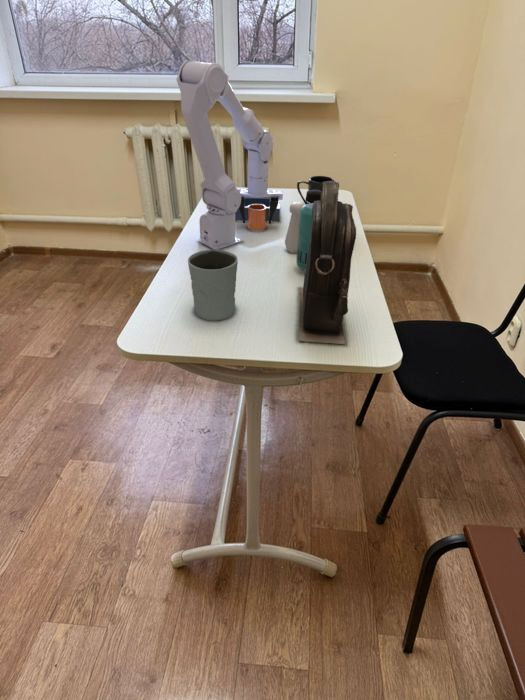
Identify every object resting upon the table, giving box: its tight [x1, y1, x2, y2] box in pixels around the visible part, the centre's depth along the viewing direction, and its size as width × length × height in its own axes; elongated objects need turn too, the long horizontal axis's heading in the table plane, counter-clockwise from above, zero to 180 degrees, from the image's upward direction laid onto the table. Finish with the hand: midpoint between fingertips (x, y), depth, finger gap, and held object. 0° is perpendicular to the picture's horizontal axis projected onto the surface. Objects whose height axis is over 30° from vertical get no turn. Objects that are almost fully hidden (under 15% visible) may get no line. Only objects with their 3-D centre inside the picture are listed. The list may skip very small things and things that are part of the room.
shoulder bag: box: [298, 180, 357, 345], centre depth 94 cm, size 23×9×28 cm, turn 176°
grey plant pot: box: [187, 249, 239, 322], centre depth 99 cm, size 10×10×12 cm
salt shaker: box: [284, 201, 305, 254], centre depth 126 cm, size 6×6×13 cm
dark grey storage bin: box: [235, 198, 281, 222], centre depth 151 cm, size 14×14×4 cm
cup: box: [246, 204, 267, 231], centre depth 140 cm, size 6×6×6 cm
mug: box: [296, 175, 335, 205], centre depth 155 cm, size 8×12×10 cm
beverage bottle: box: [296, 190, 322, 271], centre depth 114 cm, size 6×7×20 cm
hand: (256, 222), depth 141 cm, fingers open, 7 cm apart
